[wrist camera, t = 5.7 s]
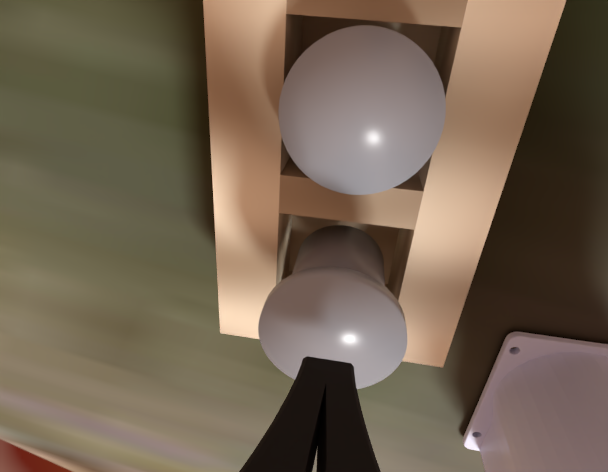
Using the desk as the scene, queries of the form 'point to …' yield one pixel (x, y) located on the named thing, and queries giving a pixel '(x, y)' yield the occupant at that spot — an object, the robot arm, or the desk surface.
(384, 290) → the knob
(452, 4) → the knob mount
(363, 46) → the knob middle
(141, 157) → the desk surface
